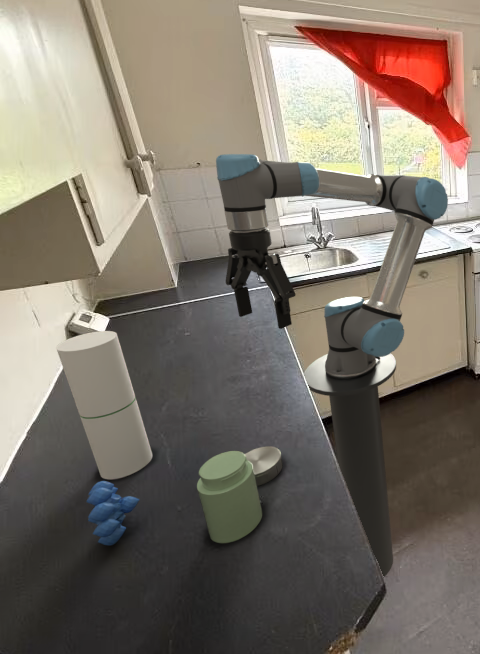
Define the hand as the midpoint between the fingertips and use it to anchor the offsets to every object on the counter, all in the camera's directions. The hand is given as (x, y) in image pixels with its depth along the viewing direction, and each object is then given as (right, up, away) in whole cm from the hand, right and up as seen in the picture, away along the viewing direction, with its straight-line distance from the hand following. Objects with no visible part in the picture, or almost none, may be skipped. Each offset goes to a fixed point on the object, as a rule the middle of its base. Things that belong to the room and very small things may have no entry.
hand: (265, 320), depth 96 cm
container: (-28, -31, -4) cm, 42 cm away
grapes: (-14, -37, -20) cm, 44 cm away
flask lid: (+2, -30, -6) cm, 30 cm away
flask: (+5, -36, -18) cm, 40 cm away
